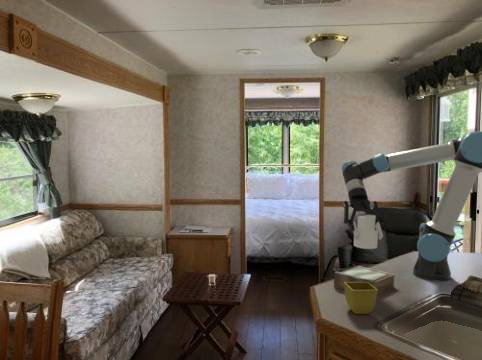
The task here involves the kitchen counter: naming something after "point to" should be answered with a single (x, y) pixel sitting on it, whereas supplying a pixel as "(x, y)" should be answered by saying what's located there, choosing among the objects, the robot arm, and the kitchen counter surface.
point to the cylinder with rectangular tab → (366, 232)
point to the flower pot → (360, 296)
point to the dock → (365, 278)
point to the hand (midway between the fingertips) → (369, 237)
